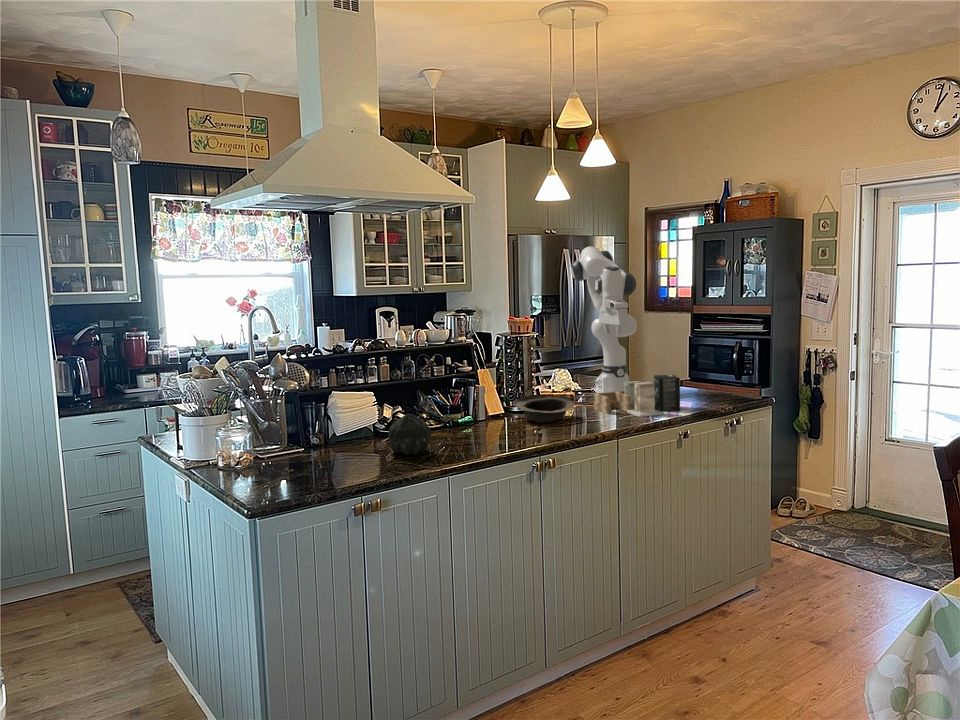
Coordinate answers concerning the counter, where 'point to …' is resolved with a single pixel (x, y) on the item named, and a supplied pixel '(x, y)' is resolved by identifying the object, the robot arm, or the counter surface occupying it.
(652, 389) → the block
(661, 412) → the tile
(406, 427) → the squash
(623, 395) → the shelf
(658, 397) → the tampon box
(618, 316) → the robot arm
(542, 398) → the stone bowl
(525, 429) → the counter surface
